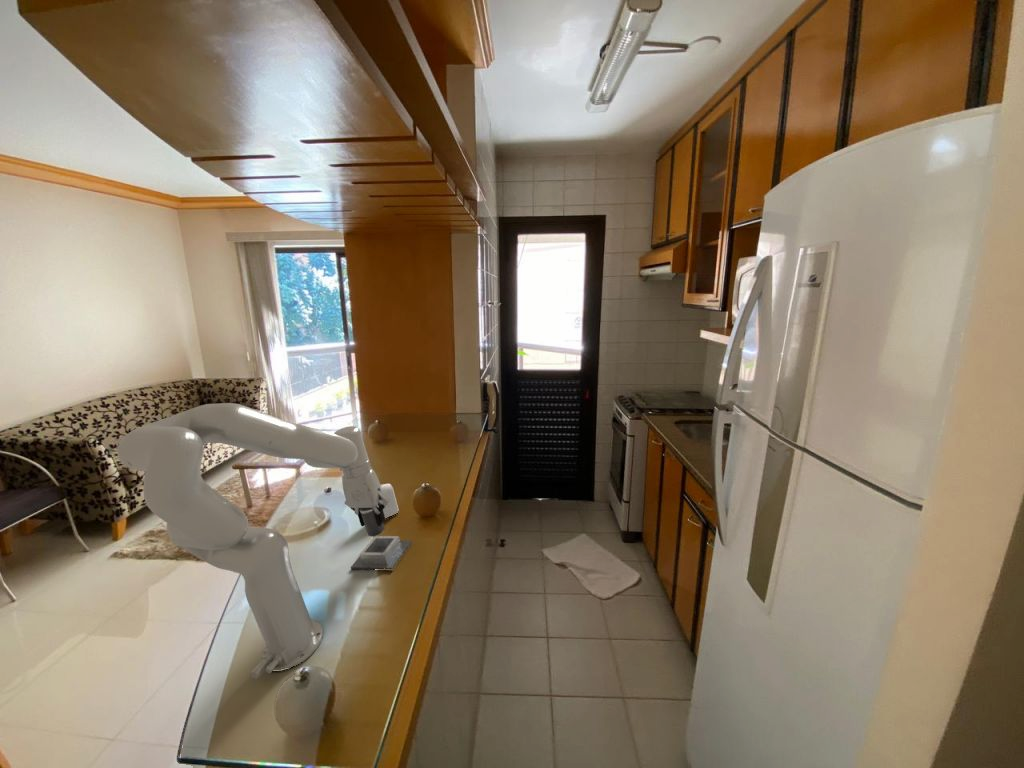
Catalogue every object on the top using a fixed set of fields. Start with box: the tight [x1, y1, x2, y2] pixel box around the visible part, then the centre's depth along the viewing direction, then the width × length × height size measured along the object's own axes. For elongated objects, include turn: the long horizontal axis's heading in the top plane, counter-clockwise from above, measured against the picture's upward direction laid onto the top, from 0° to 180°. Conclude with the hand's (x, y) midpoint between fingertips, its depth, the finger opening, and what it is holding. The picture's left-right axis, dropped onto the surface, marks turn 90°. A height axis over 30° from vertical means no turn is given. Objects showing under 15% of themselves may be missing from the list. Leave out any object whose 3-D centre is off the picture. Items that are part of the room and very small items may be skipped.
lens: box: [359, 505, 385, 537], centre depth 118 cm, size 5×5×9 cm
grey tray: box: [350, 535, 413, 571], centre depth 120 cm, size 12×14×4 cm
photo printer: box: [378, 483, 400, 519], centre depth 141 cm, size 10×4×12 cm, turn 123°
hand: (373, 522), depth 118 cm, fingers closed on lens, 5 cm apart
